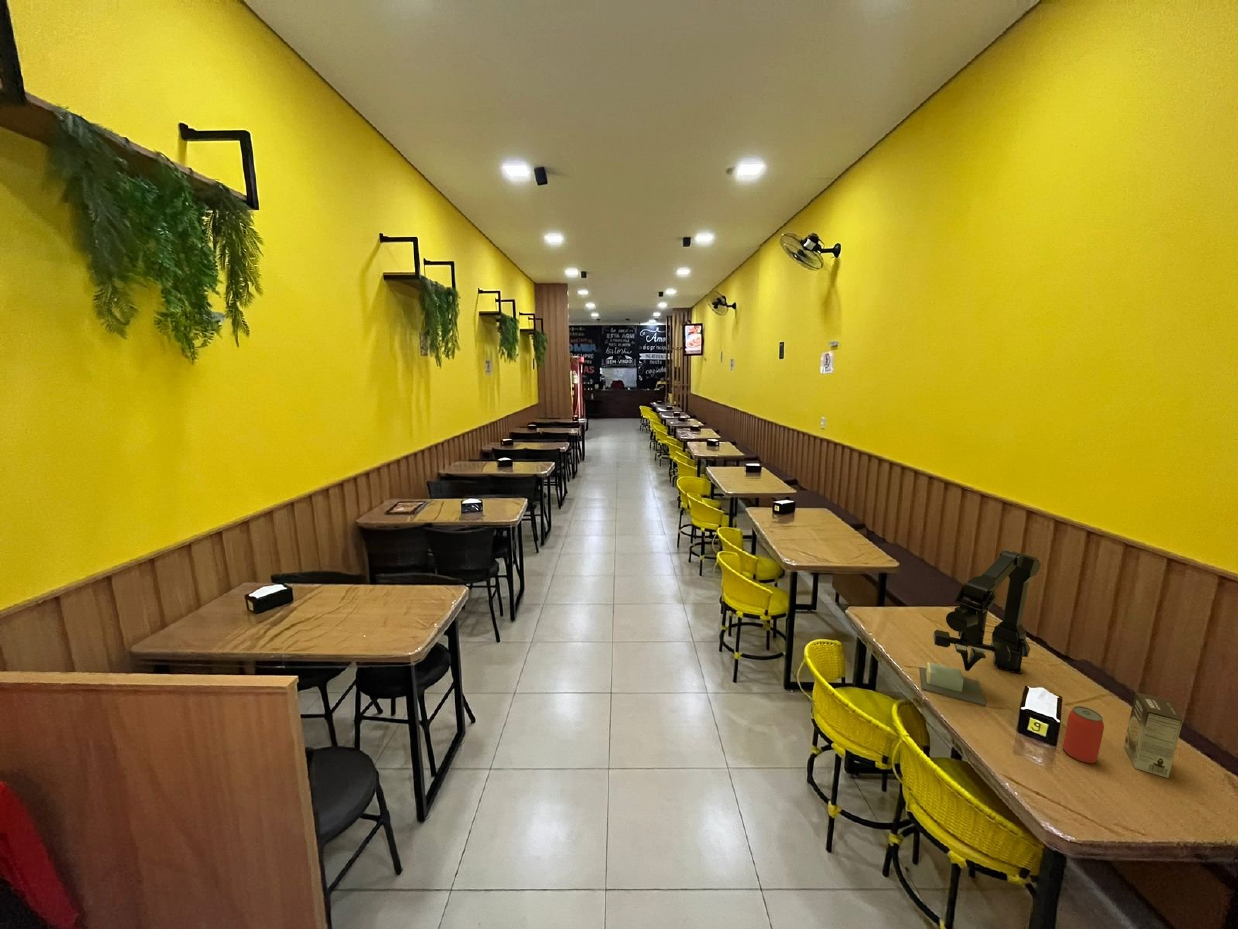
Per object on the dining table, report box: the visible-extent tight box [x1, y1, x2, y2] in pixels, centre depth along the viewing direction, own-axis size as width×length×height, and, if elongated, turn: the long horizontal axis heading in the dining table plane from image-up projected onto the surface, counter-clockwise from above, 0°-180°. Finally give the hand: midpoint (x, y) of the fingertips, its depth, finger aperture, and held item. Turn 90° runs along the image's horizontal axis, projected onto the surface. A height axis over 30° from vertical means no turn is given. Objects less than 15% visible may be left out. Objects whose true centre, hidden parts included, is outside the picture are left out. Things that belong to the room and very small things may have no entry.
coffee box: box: [1123, 692, 1184, 779], centre depth 123 cm, size 9×6×16 cm
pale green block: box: [926, 661, 963, 692], centre depth 155 cm, size 4×6×9 cm
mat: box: [919, 666, 987, 707], centre depth 154 cm, size 16×13×1 cm
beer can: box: [1062, 705, 1105, 764], centre depth 126 cm, size 7×7×12 cm
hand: (966, 670), depth 152 cm, fingers closed
